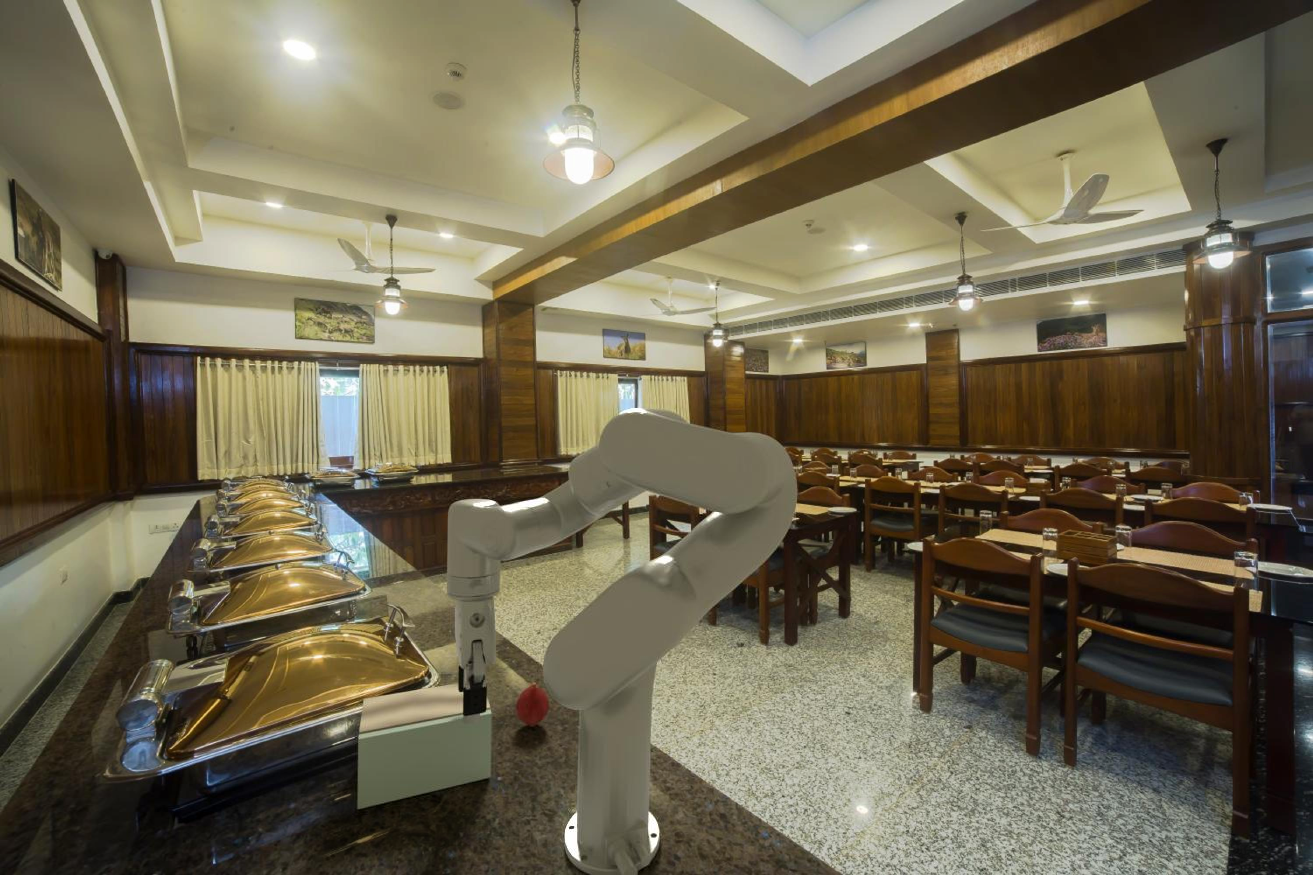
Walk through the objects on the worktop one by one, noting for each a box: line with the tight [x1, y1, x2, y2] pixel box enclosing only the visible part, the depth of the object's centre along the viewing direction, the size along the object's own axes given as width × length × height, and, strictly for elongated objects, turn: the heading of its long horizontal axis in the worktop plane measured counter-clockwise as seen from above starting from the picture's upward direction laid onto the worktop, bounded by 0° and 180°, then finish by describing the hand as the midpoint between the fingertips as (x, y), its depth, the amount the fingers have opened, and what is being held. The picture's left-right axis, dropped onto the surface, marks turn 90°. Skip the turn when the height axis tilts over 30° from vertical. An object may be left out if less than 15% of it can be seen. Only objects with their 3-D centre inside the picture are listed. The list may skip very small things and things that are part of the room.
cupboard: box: [358, 683, 491, 736], centre depth 86 cm, size 10×18×10 cm, turn 115°
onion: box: [515, 682, 550, 728], centre depth 99 cm, size 6×6×8 cm
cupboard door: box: [357, 663, 493, 810], centre depth 80 cm, size 3×18×18 cm, turn 115°
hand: (471, 700), depth 82 cm, fingers open, 6 cm apart
